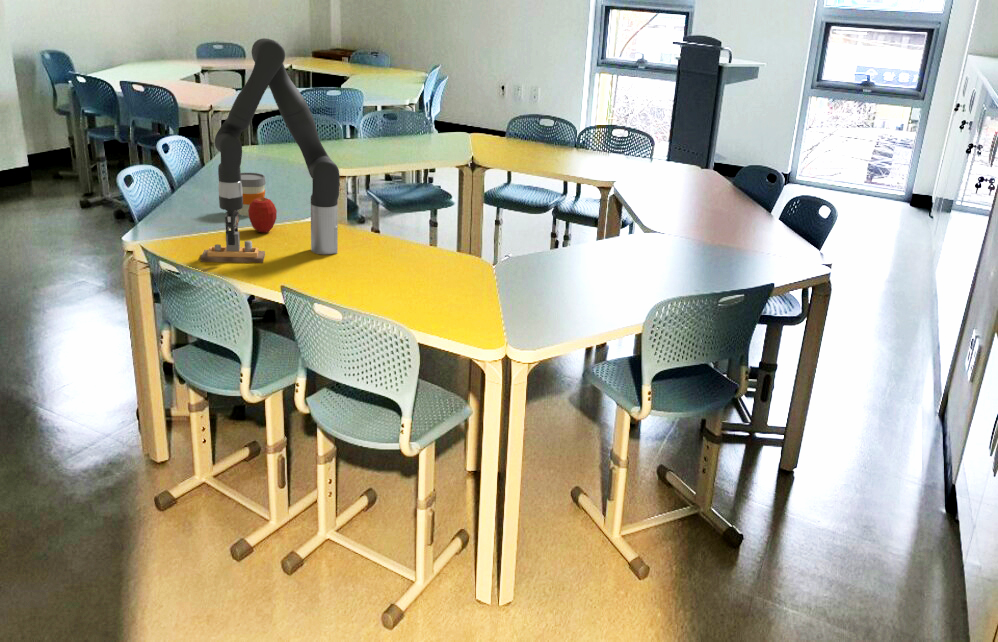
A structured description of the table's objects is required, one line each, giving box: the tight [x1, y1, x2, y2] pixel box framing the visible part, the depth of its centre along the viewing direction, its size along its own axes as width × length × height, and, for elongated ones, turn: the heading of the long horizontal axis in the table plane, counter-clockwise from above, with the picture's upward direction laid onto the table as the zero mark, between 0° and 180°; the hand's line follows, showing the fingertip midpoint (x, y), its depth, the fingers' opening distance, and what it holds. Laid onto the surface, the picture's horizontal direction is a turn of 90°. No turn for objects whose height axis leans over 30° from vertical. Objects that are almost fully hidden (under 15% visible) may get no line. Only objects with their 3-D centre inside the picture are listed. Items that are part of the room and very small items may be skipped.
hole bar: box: [207, 231, 260, 257], centre depth 287 cm, size 16×6×8 cm, turn 100°
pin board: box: [200, 240, 266, 264], centre depth 287 cm, size 20×8×6 cm, turn 100°
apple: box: [248, 197, 277, 234], centre depth 315 cm, size 10×10×14 cm
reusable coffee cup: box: [238, 172, 267, 217], centre depth 335 cm, size 13×13×15 cm
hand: (233, 240), depth 286 cm, fingers open, 8 cm apart
